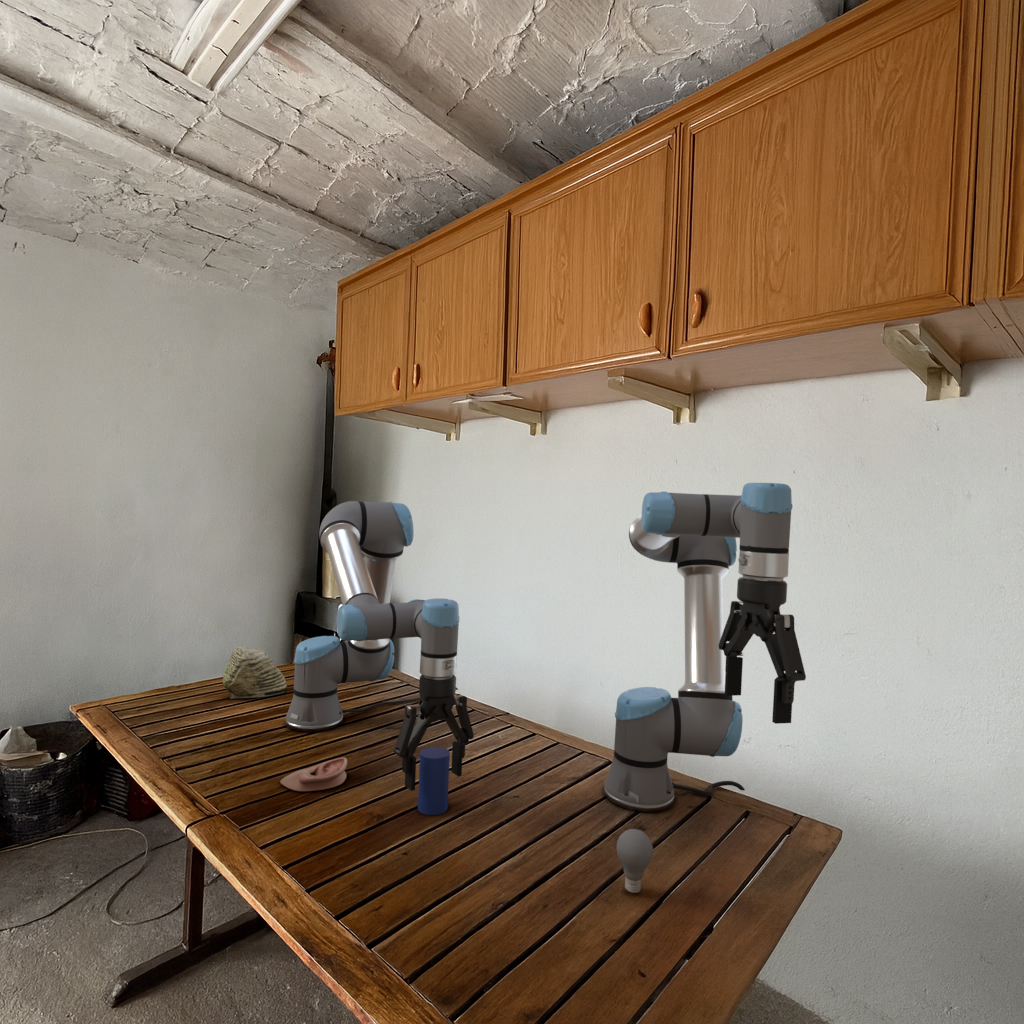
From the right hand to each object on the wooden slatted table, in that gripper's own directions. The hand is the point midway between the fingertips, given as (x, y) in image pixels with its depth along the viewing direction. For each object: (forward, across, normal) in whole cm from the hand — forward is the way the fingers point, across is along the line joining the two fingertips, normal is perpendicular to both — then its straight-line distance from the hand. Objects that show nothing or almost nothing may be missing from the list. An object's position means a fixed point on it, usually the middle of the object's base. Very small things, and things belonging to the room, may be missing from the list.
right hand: (755, 708), depth 103 cm
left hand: (+27, -38, -48) cm, 67 cm away
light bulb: (+32, -6, -17) cm, 37 cm away
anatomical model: (+32, -53, -73) cm, 96 cm away
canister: (+32, -38, -48) cm, 69 cm away
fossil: (+32, -117, -97) cm, 155 cm away
